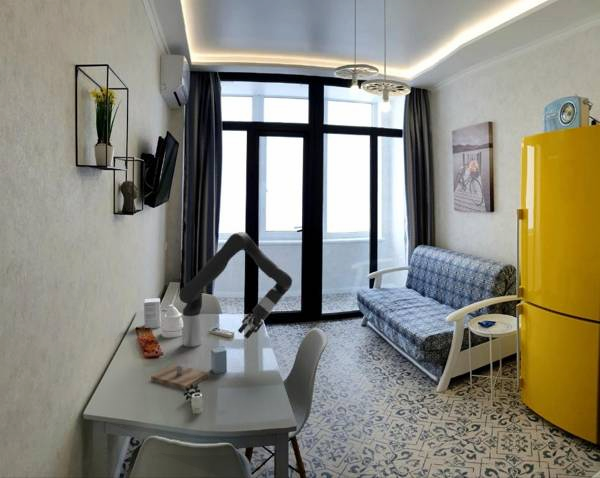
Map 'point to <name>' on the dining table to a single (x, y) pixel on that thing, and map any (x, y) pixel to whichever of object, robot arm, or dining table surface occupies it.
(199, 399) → the valve
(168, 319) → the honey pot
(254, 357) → the dining table surface
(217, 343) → the dining table surface
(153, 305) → the supplement box
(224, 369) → the block
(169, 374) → the post plate
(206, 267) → the robot arm
